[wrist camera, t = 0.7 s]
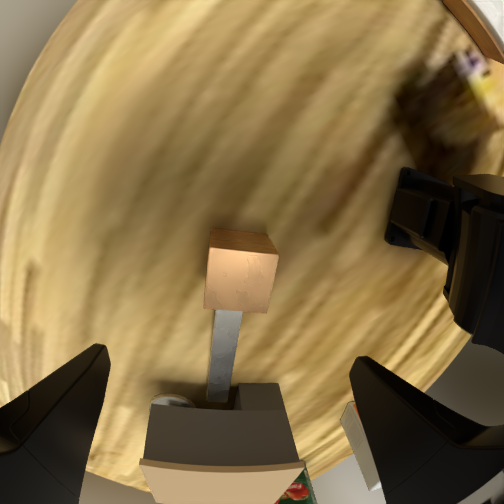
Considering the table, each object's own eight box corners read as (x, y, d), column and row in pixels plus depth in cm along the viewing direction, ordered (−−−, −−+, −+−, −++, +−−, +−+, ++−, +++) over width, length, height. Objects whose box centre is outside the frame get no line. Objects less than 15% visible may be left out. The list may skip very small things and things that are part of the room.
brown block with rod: (267, 234, 20) (279, 255, 16) (236, 395, 26) (239, 425, 22) (211, 228, 19) (210, 247, 15) (196, 393, 25) (196, 424, 21)
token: (196, 393, 25) (196, 402, 24) (195, 419, 27) (195, 427, 26) (148, 388, 24) (147, 396, 23) (152, 414, 26) (151, 422, 25)
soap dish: (453, -32, 10) (476, -42, 5) (499, 24, 13) (524, 20, 8) (431, -1, 13) (461, -14, 8) (486, 68, 16) (518, 65, 11)
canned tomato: (277, 479, 36) (288, 528, 26) (247, 472, 34) (256, 528, 23) (314, 463, 35) (330, 515, 25) (287, 455, 32) (302, 515, 22)
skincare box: (387, 391, 29) (428, 459, 18) (376, 411, 31) (410, 475, 20) (347, 401, 29) (383, 479, 17) (338, 420, 30) (368, 492, 19)
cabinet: (280, 382, 25) (304, 467, 16) (260, 438, 29) (273, 504, 20) (154, 374, 23) (139, 464, 14) (161, 433, 27) (156, 502, 18)
